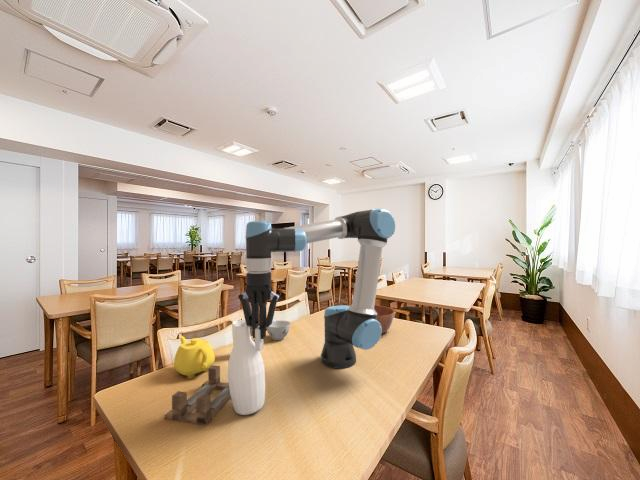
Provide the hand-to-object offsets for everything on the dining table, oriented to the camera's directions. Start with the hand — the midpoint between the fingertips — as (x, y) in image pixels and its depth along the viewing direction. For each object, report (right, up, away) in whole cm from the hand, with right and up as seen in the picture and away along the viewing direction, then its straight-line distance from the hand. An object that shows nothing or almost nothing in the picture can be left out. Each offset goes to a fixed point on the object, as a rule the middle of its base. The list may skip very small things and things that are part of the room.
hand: (259, 348), depth 83 cm
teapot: (-32, -19, +26) cm, 46 cm away
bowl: (+48, -18, +71) cm, 88 cm away
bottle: (-3, -18, +1) cm, 19 cm away
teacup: (-4, -19, +61) cm, 64 cm away
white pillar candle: (-17, -19, +39) cm, 47 cm away
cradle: (-18, -19, +4) cm, 26 cm away
